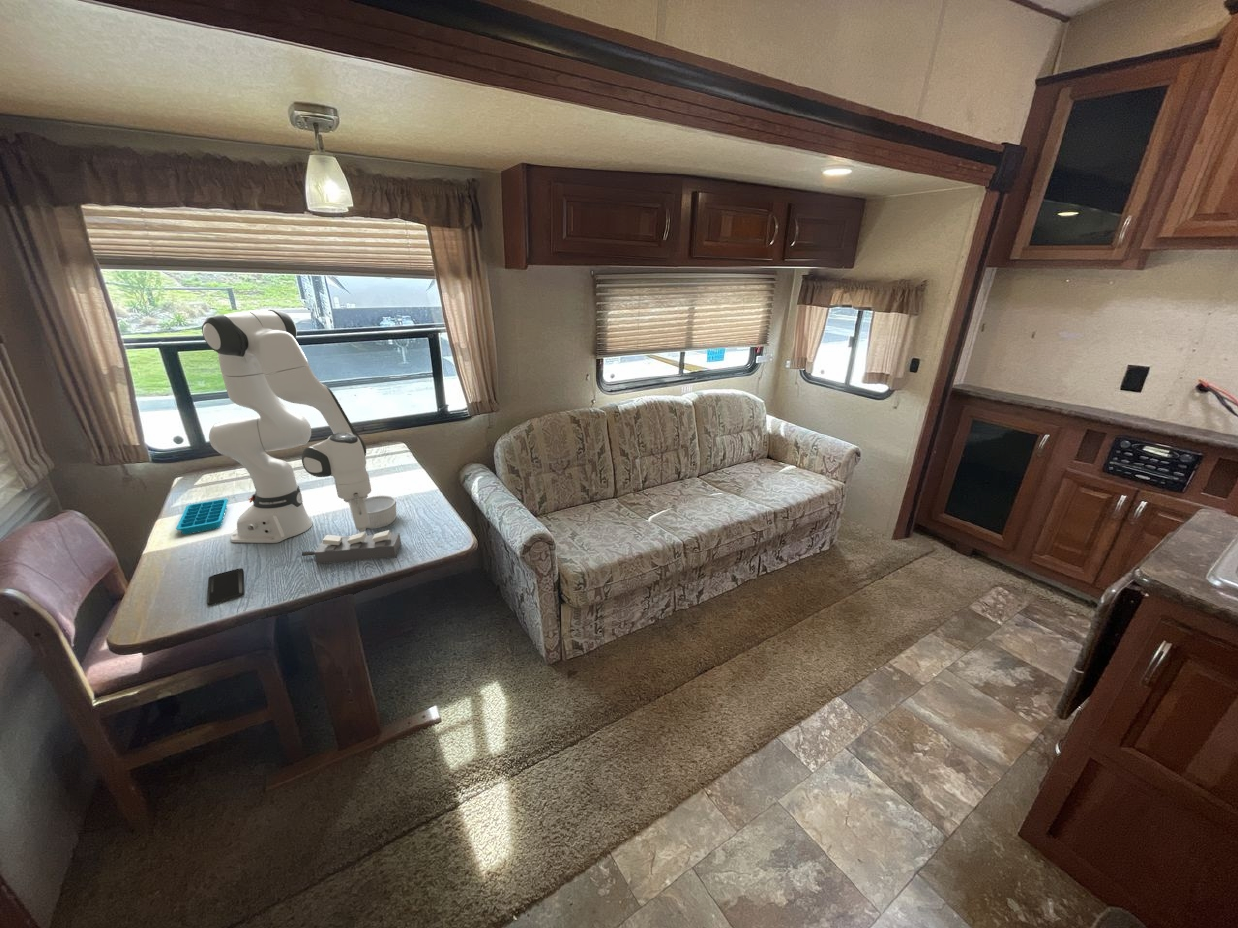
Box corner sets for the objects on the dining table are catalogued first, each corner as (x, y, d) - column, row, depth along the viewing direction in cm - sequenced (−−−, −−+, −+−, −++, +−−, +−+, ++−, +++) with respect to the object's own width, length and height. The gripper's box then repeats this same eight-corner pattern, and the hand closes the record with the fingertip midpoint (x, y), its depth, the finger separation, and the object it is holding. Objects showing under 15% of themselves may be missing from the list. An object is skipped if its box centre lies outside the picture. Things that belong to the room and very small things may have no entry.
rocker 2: (349, 544, 146) (347, 540, 146) (352, 539, 149) (350, 535, 148) (364, 540, 147) (362, 536, 146) (366, 535, 149) (364, 531, 149)
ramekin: (353, 532, 161) (349, 514, 158) (361, 514, 173) (357, 497, 170) (395, 528, 164) (392, 510, 162) (401, 510, 176) (398, 493, 174)
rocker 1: (322, 543, 144) (322, 539, 144) (326, 538, 147) (326, 534, 147) (338, 545, 146) (339, 541, 145) (342, 540, 148) (342, 536, 148)
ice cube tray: (178, 537, 156) (175, 529, 155) (189, 512, 172) (187, 504, 171) (223, 529, 162) (220, 521, 161) (230, 505, 178) (228, 498, 177)
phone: (242, 567, 140) (243, 593, 129) (243, 570, 141) (244, 597, 130) (208, 576, 136) (205, 604, 125) (209, 579, 136) (207, 608, 125)
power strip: (298, 565, 143) (294, 552, 141) (308, 551, 150) (305, 538, 148) (395, 557, 148) (393, 544, 146) (401, 543, 155) (399, 531, 154)
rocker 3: (374, 542, 148) (372, 538, 147) (376, 537, 150) (374, 533, 150) (388, 538, 148) (386, 534, 147) (390, 533, 151) (389, 529, 150)
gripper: (370, 498, 135) (378, 541, 140) (361, 474, 151) (369, 514, 156) (345, 503, 132) (354, 547, 137) (338, 478, 148) (347, 519, 153)
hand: (362, 529), depth 146 cm, fingers closed
